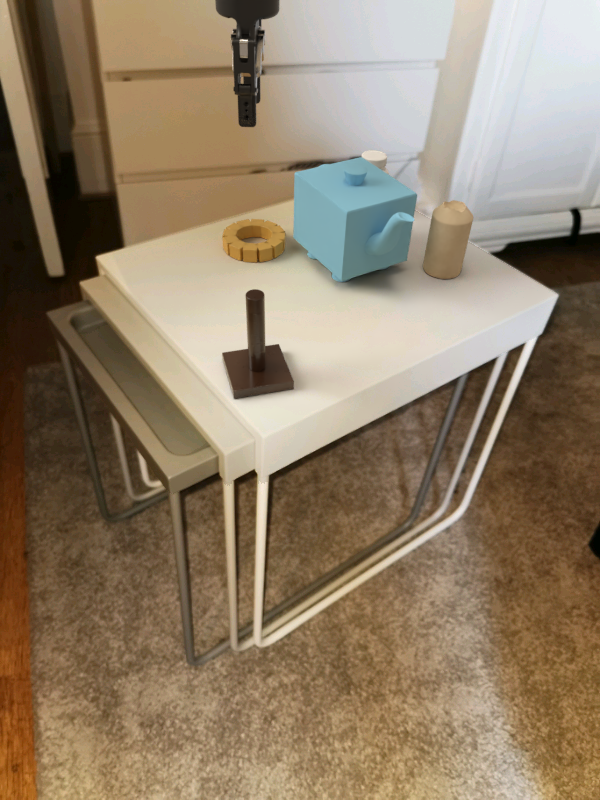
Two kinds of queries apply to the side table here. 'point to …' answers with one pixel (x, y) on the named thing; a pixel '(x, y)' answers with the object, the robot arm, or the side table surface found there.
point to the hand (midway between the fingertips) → (250, 114)
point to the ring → (253, 250)
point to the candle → (447, 239)
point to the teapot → (352, 217)
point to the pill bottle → (376, 159)
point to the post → (256, 357)
